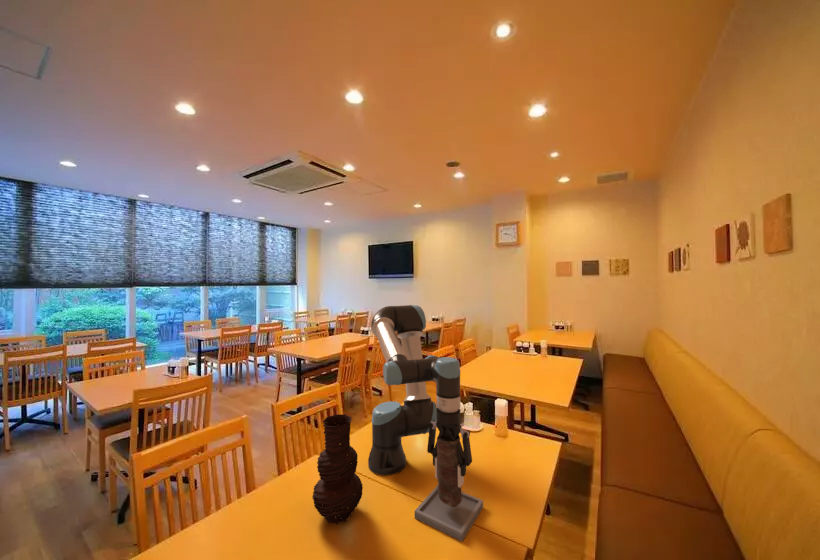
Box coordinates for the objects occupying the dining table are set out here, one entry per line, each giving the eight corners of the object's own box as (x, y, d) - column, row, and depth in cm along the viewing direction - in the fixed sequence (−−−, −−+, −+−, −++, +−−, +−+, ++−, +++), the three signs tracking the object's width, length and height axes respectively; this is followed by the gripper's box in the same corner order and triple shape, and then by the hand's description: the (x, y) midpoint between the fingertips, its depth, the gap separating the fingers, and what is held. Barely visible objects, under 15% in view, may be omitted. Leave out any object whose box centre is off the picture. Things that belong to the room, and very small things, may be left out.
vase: (321, 497, 108) (320, 409, 108) (366, 498, 107) (365, 409, 107) (305, 534, 92) (303, 431, 92) (357, 534, 92) (356, 431, 92)
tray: (414, 518, 98) (414, 510, 98) (439, 489, 111) (439, 482, 111) (462, 541, 89) (462, 533, 89) (483, 507, 102) (483, 500, 102)
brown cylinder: (434, 504, 98) (433, 439, 98) (441, 489, 105) (440, 429, 105) (458, 510, 95) (458, 444, 95) (463, 495, 102) (463, 433, 102)
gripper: (415, 405, 102) (416, 475, 102) (473, 420, 91) (474, 499, 91) (427, 397, 109) (428, 464, 109) (483, 411, 97) (484, 485, 97)
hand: (449, 480), depth 100 cm, fingers closed on brown cylinder, 7 cm apart
